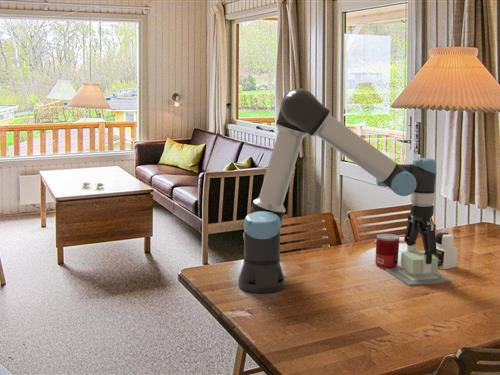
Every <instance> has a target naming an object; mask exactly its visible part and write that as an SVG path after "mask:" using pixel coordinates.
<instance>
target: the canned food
mask: <svg viewBox="0 0 500 375" xmlns="http://www.w3.org/2000/svg"><path fill="white" fill-rule="evenodd" d="M375 243H376V244H375V260H374V262H375V265H376V267H379V268H380V269H381V268H382V269H385V270H386V269H389V268H398V264H399V250H400V236H399V235H397V234H393V233H379V234H377V235H376V241H375Z"/></svg>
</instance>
